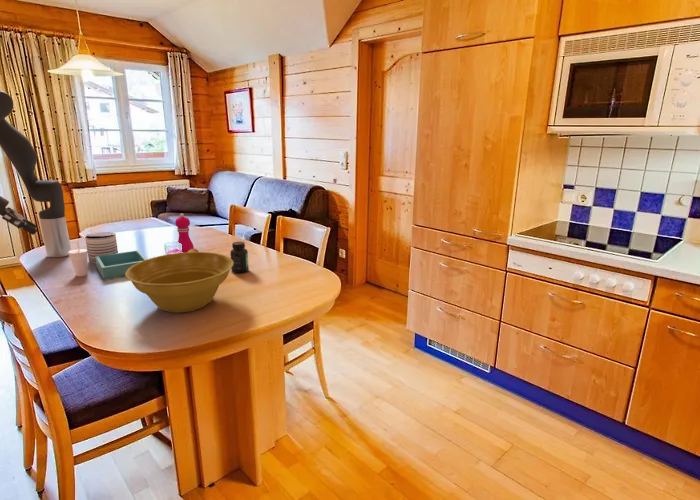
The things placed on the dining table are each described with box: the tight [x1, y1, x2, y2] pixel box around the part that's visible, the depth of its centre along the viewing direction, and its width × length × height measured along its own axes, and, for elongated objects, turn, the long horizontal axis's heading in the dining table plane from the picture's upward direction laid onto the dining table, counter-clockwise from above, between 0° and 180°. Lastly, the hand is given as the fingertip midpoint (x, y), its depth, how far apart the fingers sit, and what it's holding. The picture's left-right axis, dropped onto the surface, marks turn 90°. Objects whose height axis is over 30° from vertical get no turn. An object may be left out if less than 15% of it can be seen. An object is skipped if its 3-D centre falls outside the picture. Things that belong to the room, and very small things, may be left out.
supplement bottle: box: [229, 241, 250, 275], centre depth 167 cm, size 7×7×12 cm
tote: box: [95, 249, 148, 281], centre depth 167 cm, size 18×16×5 cm
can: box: [84, 231, 119, 265], centre depth 179 cm, size 11×11×12 cm
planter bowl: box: [125, 251, 234, 313], centre depth 135 cm, size 32×32×13 cm
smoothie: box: [67, 239, 88, 277], centre depth 160 cm, size 6×6×14 cm
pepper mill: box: [174, 213, 195, 253], centre depth 183 cm, size 7×7×20 cm
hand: (35, 230), depth 150 cm, fingers open, 8 cm apart
